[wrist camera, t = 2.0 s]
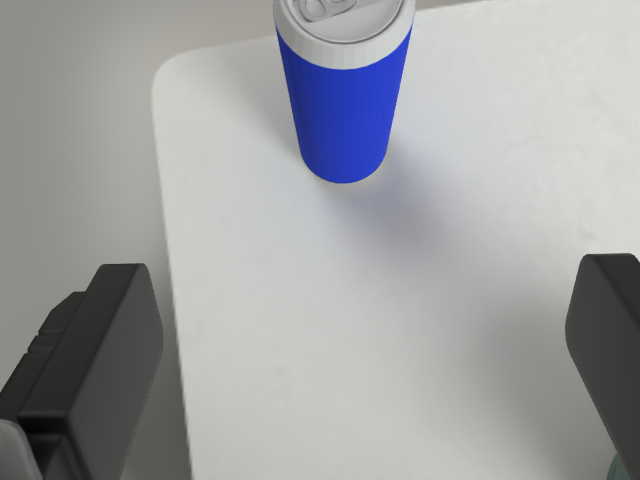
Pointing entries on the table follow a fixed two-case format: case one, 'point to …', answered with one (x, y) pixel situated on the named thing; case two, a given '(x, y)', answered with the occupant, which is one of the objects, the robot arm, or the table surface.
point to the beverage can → (343, 79)
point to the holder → (617, 470)
